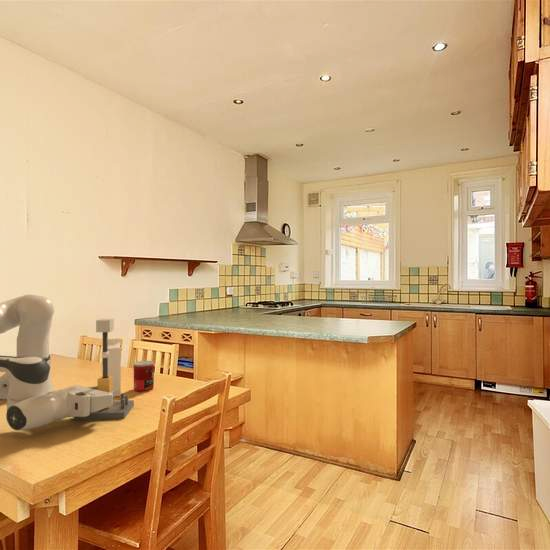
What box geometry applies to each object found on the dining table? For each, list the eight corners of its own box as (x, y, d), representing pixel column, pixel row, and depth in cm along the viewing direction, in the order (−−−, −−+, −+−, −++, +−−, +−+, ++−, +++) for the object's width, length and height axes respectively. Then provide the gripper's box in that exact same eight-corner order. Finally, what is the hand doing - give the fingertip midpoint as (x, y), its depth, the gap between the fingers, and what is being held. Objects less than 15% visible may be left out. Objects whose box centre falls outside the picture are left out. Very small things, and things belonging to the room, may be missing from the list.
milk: (120, 395, 151) (120, 339, 151) (103, 398, 148) (104, 340, 148) (118, 391, 157) (118, 337, 156) (102, 393, 154) (102, 338, 153)
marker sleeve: (97, 408, 131) (97, 379, 131) (101, 404, 135) (101, 376, 135) (109, 408, 131) (109, 378, 131) (112, 404, 135) (112, 375, 135)
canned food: (147, 392, 155) (147, 365, 155) (129, 391, 157) (129, 364, 157) (157, 387, 163) (157, 361, 162) (140, 386, 164) (139, 360, 164)
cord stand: (73, 420, 126) (73, 322, 126) (87, 407, 138) (87, 317, 138) (124, 418, 128) (124, 321, 128) (133, 405, 140) (133, 317, 140)
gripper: (49, 406, 127) (88, 394, 139) (88, 418, 117) (126, 404, 129) (49, 387, 127) (88, 377, 139) (88, 397, 116) (126, 385, 128)
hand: (106, 390), depth 134 cm, fingers open, 8 cm apart
